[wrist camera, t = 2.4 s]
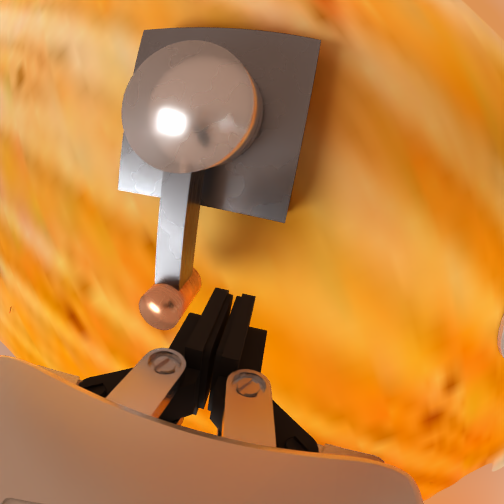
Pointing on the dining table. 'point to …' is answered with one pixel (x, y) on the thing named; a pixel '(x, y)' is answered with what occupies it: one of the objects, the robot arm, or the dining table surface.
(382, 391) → the dining table surface
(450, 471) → the dining table surface
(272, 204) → the base
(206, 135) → the ball-ended lever handle
